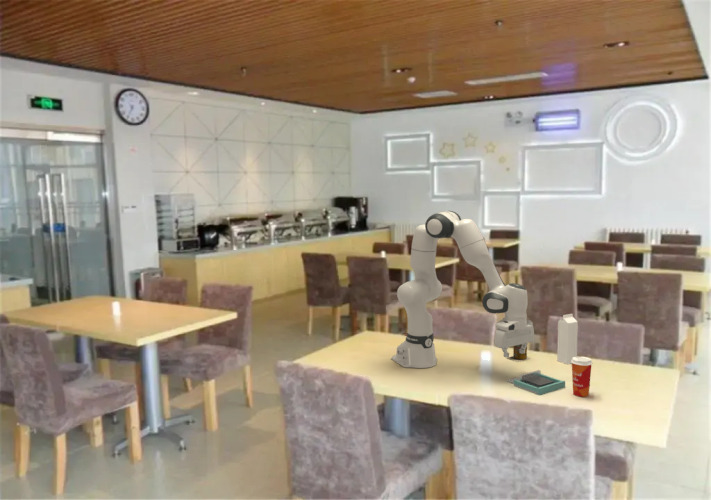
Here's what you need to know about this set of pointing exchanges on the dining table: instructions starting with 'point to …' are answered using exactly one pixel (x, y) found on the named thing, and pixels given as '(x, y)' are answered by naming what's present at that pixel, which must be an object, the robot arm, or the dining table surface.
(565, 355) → the milk
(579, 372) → the paper cup
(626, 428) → the dining table surface
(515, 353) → the condiment
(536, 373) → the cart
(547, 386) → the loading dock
